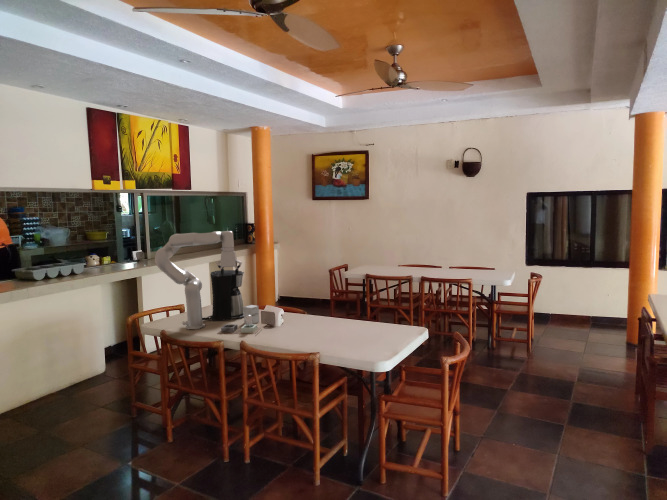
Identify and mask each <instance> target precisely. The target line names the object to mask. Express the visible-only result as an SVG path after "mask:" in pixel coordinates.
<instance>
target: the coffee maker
mask: <svg viewBox="0 0 667 500" xmlns="http://www.w3.org/2000/svg"><path fill="white" fill-rule="evenodd" d="M238 271H239V273H238V275H236V274H235V270H231V269H227V270H226V269H224V275H222V274H221V270H214V271H211V272H210V282H211V292H212V293H211V295H212V314H211V315H209V316H207V317H202V321H208V320H211V321H213V322H214V321H215V322H216V321H217V322H218V321H231V320H235V319H237V320H238V319H242V318H243V319H244V307H245V306H244V300H243V295H242V293H241V290H240V289H239V288H240V287H242V285H243V277H244V274H245V272H244V271H241V270H238Z"/></svg>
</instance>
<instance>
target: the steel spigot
mask: <svg viewBox="0 0 667 500" xmlns="http://www.w3.org/2000/svg"><path fill="white" fill-rule="evenodd" d="M245 322H246V323H245V324H246V327H252V315H245Z"/></svg>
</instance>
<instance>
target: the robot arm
mask: <svg viewBox="0 0 667 500" xmlns="http://www.w3.org/2000/svg"><path fill="white" fill-rule="evenodd" d="M234 241H235V240H234V232H233V231H232V230H224V231H219V230H216V231H215V230H214V231H212V232H202V233H201V232H200V233H199V232H188V233H187V232H186V233H185V232H184V233H174V234H172V235H171V236H170V237H169V239H168V241H167V242H166V244H165V245H163V247H161V248H159V249H158V250H156V253H155V255H154V262H155V265H156V266H157V267H158V269H159V270H160V271H161V272H163V274H165V275H166V276H167V277H168V278H170V280H172V281H173V282H174V283H175V284H177V285H183V286H184V294H185V295H184V296H185V302H186V303H185V304H186V315H187V317H186V318H187V321H185V320H183V321H182V323H181V324H182V325H185V329H186V330H189V329H195V330H200V328H201V329H204V328H205V326H206V324H205V323H204V322H203V321H204V320H202V318H203V311H202V309H203V308H202V299H201V297H202V296H201V290H202V288H203V283H202V281H201V280H200V279H199V278H198V277H197V276H196V275H195V274H193V273H192V272H190V271H189V270H188V269H186V268H180V267H178V265H176V264H175V263H173V262H172V261H171V260H170V259H171V258H172V257H173V256H175V254H176V253H177V252H178V251H179V249H180V248H182V247H183V248H184V247H194V246H195V247H196V246H203V245H214V244H215V245H216V244H217V243H220V242H221V245H222V246H221V247H220V251H221V253H220V260H219V261H217V262H216V266H217V267H218V269H219V270H220V271H221V274H222V275H224V270H225V269H224V268H231V267H232V268H233V267H234V268H235V274H236V275H238V273H239V271H240V270H239V269H240V267H241V266H242V264H243V262H242V261H240V260H238V259H237V254H236V253H237V252H236V251H235V243H234Z"/></svg>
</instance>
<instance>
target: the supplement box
mask: <svg viewBox="0 0 667 500" xmlns="http://www.w3.org/2000/svg"><path fill="white" fill-rule="evenodd" d="M243 307H244V317H243V320H244V321H243V323H244V324H246V322H245V315H252V324H257V323H260V310H259V305H254V304H250V305H246V306H243Z"/></svg>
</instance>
